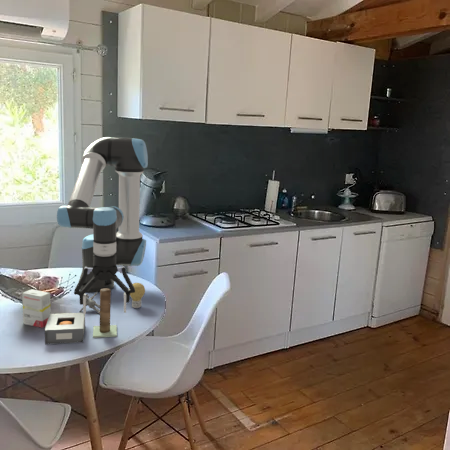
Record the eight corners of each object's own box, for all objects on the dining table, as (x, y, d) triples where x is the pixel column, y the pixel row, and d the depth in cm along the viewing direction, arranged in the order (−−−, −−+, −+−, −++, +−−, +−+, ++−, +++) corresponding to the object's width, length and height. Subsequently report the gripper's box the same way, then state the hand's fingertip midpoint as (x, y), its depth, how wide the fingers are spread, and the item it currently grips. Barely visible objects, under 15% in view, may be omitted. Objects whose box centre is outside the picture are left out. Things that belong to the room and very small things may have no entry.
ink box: (52, 323, 175) (51, 292, 173) (42, 328, 171) (41, 296, 168) (32, 318, 178) (31, 288, 175) (22, 323, 173) (21, 292, 171)
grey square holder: (49, 327, 172) (49, 313, 171) (85, 325, 175) (84, 312, 174) (45, 344, 160) (44, 330, 158) (83, 342, 162) (83, 328, 161)
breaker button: (60, 329, 168) (60, 321, 168) (72, 328, 169) (72, 320, 169) (59, 334, 165) (59, 326, 164) (71, 333, 166) (71, 325, 165)
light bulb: (141, 311, 190) (141, 287, 187) (125, 309, 191) (126, 285, 189) (147, 305, 196) (147, 281, 193) (132, 303, 197) (132, 279, 195)
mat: (93, 327, 174) (93, 326, 173) (116, 326, 175) (116, 324, 175) (92, 337, 166) (92, 336, 166) (116, 336, 168) (116, 334, 168)
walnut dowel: (99, 328, 172) (100, 288, 168) (110, 328, 173) (110, 288, 169) (99, 333, 168) (99, 292, 165) (110, 332, 169) (110, 292, 166)
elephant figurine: (90, 318, 181) (72, 305, 184) (94, 324, 186) (77, 311, 189) (108, 298, 185) (90, 285, 188) (111, 303, 190) (94, 291, 193)
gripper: (65, 257, 158) (66, 318, 163) (143, 256, 163) (141, 314, 168) (67, 250, 165) (68, 309, 170) (141, 249, 170) (140, 306, 175)
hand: (104, 312), depth 169 cm, fingers open, 13 cm apart
